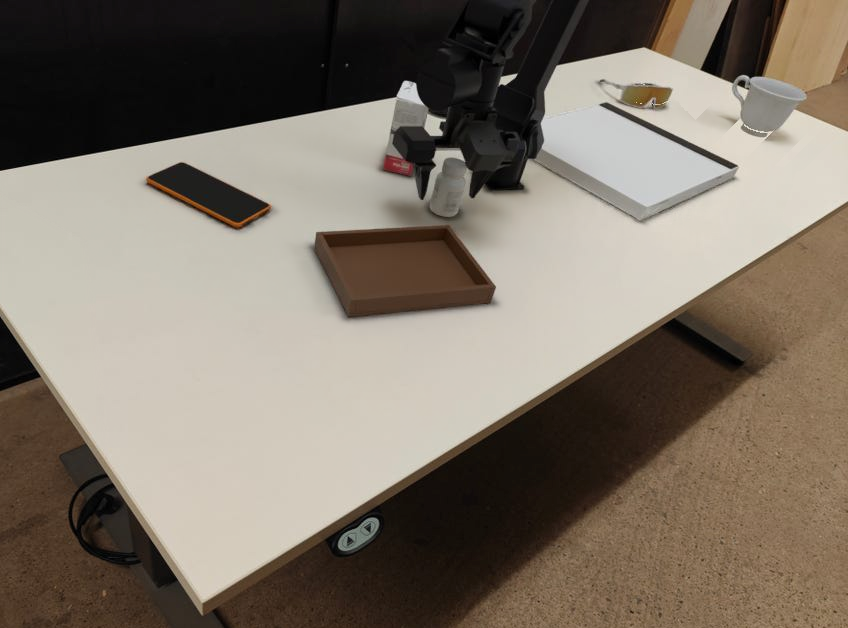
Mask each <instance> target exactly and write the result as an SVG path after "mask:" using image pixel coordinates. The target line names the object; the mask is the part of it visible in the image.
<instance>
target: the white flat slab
mask: <svg viewBox="0 0 848 628" xmlns="http://www.w3.org/2000/svg"><path fill="white" fill-rule="evenodd" d="M541 127H542V132H543V136H544V143H543V145H542V148H541V150H540V151H539V153H538V154H537V157H536V159H532V160H533V161H535V162H537V164H540V165H542V166H543V167H545V168H547V169H549V170H550V171H552V172H554V173H556V174H558V175H559V176H561V177H563V178H565V179H566V180H568V181H569V182H572V183H574V184H575V185H577V186H579V187H581V188H582V189H584V190H586V191H587V192H590V193H591V194H593V195H594V196H596V197H598V198H599V199H602V200H603V201H605V202H607V203H608V204H610V205H612V206H613V207H616V208H617V209H619V210H621V211H623V212H624V213H626V214H628V215H630V216H631V217H633V218H635V219H637V220H638V221H643V220H645V219H647V218H649V217H652V216H654V215H656V214H658V213H660V212H662V211H664V210H666V209H668V208H671V207H673V206H675V205H677V204H680V203H682V202H684V201H686V200H688V199H690V198H693V197H695V196H697V195H699V194H701V193H704V192H705V191H708V190H711V189H712V188H714V187H716V186H719V185H721V184H722V183H724V182H727V181H729V180H731V179H733V178H734V177H735V175H736V174H737V172H738V170H739V169H740V166H739V165H738V164H736V163H734V162H732V161H730V160H728V159H725V158H723V157H722V156H720V155H718V154H716V153H714V152H711V151H709V150H707V149H705V148H703V147H701V146H699V145H697V144H695V143H693V142H691V141H689V140H686V139H684V138H682V137H680V136H678V135H676V134H674V133H672V132H670V131H668V130H666V129H663V128H662V127H659V126H657V125H655V124H653V123H651V122H649V121H647V120H645V119H642V118H640V117H639V116H636V115H635V114H632V113H630V112H628V111H626V110H624V109H622V108H620V107H617V106H615V105H614V104H612V103H610V102H605V101H604V102H601V103H597V104H591V105H589V106H584V107H579V108H575V109H572V110H567V111H564V112H559V113H556V114H551V115H547V116H544V117H543V119H542V122H541Z"/></svg>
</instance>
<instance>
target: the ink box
mask: <svg viewBox="0 0 848 628" xmlns="http://www.w3.org/2000/svg"><path fill="white" fill-rule="evenodd" d="M395 100H396V101H395V105H394V110H393V116H392V120H391V125H390V131H389V136H388V142H387V147H386V152H385V158H384V162H383V169H382V170H384V171H387V172H388V171H389V172H393V173H397V174H400V175H404V176H405V175H406V176H410V177H411V176H412V175H413V172H414V170H413V166H412V163H409V162H406V161H405V160H404V159H403V157H402V156H401V155H400V153H399V152H398V151H397V150H396V148H395V147H394V146H393V144H392V142H393V137H394V133H395V131H396V130H397V129H398V128H399V127H400V126H422V127H423V128H424V129H425V127H426V122H427V118H428V113H429V110H430V109H429V108H428V107H426V106H425V105H424V104H423V103H422V101H421V100H420V98H419V96H418V93H417V88H416V82H413V81H410V80H404V81H403V82H402V83H401V86H400V88H399V91H398V92H397V94H396V99H395Z"/></svg>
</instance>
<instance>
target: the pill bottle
mask: <svg viewBox="0 0 848 628" xmlns="http://www.w3.org/2000/svg"><path fill="white" fill-rule="evenodd" d="M467 170H468V168H467V167H466V165H465V160H462V159H460V158H457V157H446V158H445V159H444V160H443V162H442V167H441V171H440V172H439V173H437V175H436V178H435V182H434V184H433V185H434V186H433V190H432V193H431V198H430V201H429V210H430V212H432V213H433V214H435V215H437V216H440V217H445V218H451V217H454V216H456V215H457V214H458V212H459V209H460V206H461V202H462V198H463V195H464V191H465V188H466V185H467V180H466V178H465V175H466V173H467Z"/></svg>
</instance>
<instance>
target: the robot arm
mask: <svg viewBox="0 0 848 628" xmlns="http://www.w3.org/2000/svg"><path fill="white" fill-rule="evenodd" d="M589 1H590V0H551V2H550V4H549V6H548V8H547V10H546V13H545V15H543V18H542V21H541V23H540V25H539V27H538V29H537V31H536V33H535V35H534V38H533V40H532V42H531V44H530V46H529V48H528V50H527V53H526V55H525V57H524V59H523V61H522V63H521V66H520V67H519V70H518V72H517V74H516V76H515V77H514V78H513V79H511V80H510V81H508V83H506V84H503V83H501V79H502V75H503V72H504V69H505V65H506V63H507V60H509V59H512V58H513V57H514V54H515V53H514V50H513V49H514V48H515V46H516V45H517V43H518V42H519V41H520V39H521V38H522V36H523V35H524V34H525V33H526V31H527V28H528V26H529V25H530V24H531V22H532V15H533V14H532V13H533V6H534V4H535V3H536V2H537V0H464V2H463V4H462V5H461V6H460V8H459V10H458V12H457V14H456V15H455V17H454V19H453V20H452V23H451V24H450V26H449V28H448V29H447V31H446V33H445V35H444V36H443V38H442V43H443V44H444V45H447V46H449V47H450V48H449V47H448V48H445V47H443V48H439V49H438V50H437V51H436V54H435V58H434V59H432V60H429V61H427V62H426V63H424V64H423V65H422V66H421V68H420V69H419V72H418V73H417V76H416V81H415V83H416V88H417V93H418V96H419V98H420V100H421V101H422V103H423V104H424V105H425V106H426V107H428V108H429V109H428V110H430V111H443V110H445V109H447V113H446V117H445V121H443V120H442V121H440V123H439V126H438V129H439V130H440V131H441V132H442V134H441V135H431V134H429V132H428V130H426V129H425V127H424V128H423V127H422V126H400V127H399V128H398V129H397V130H396V131H395V133H394V137H393V142H392V144H393V146H394V147H395V148H396V150H397V151H398V152H399V153H400V155H401V156H402V157H403V159H404V160H405V161H406V162H409V163H412V166H413V174H414V180H415V185H416V190H417V196H418V198H419V200H420V201H424V200H425V197H426V195H427V191H428V187H429V182H430V178H431V172H432V170H433V169H435V168H436V167H437V164H436V163H435V161H434V160H433V159H435V156H436V152H437V151H439V152H441V151H460V153H461V155H462V157H463V159H464V160H463V161H464V162H465V165H466V167H467V170H469V171H470V172H471V177H470V182H469V188H468V196H469V198H470V199H475V198H476V196H477V195H478V193H480V191H481V190H482V188H483V187H484V186H485V187H486V188H487V189H488V190H489V191H491V192H500V191H501V192H503V191H505V192H506V191H524V190H525V185H524V184H523V183H522V182H521V180H522V177H523V174H524V171H525V169H526V165H527V163H528V160H529V159H530V160H533V159H536V157H537V154H538V153H539V151H540V150H541V148H542V145H543V143H544V136H543V132H542V127H541V122H542V119H543V117H545V115H546V100H545V99H546V98H545V96H546V95H545V91H546V89H547V87H548V84H549V83H550V81H551V78H552V76H553V75H554V72H555V70H556V69H557V66H558V64H559V62H560V60H561V59H562V56H563V54H564V52H565V50H566V48H567V46H568V44H569V42H570V40H571V37H572V36H573V34H574V32H575V30H576V27H577V25H578V24H579V22H580V19H581V17H582V15H583V14H584V11H585V9H586V7H587V6H588V3H589ZM464 32H466V34H465V33H464ZM467 34H468V35H467ZM469 35H470V36H469ZM471 36H473V37H471ZM474 37H475V38H474ZM479 39H480V40H479ZM482 40H483V41H482ZM500 83H501V84H500Z"/></svg>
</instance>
